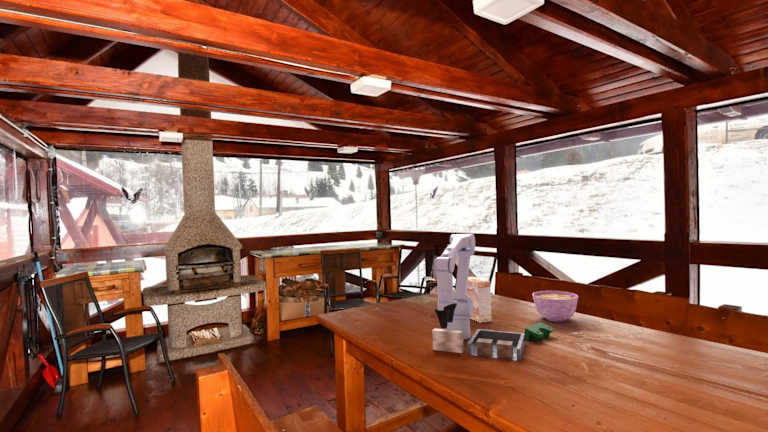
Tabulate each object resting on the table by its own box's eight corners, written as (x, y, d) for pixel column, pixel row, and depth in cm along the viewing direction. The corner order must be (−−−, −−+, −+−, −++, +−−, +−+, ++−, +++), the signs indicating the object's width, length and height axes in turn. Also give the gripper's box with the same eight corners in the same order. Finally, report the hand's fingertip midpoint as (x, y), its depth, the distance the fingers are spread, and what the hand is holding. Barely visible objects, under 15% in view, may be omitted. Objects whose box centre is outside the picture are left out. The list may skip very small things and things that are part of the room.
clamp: (537, 355, 146) (536, 337, 142) (523, 347, 150) (522, 330, 146) (554, 337, 151) (554, 320, 147) (541, 330, 156) (540, 313, 152)
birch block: (433, 351, 141) (432, 330, 141) (435, 349, 143) (434, 328, 143) (461, 354, 136) (461, 333, 136) (463, 352, 139) (462, 331, 139)
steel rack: (467, 357, 135) (467, 343, 135) (478, 341, 151) (477, 329, 151) (520, 363, 127) (520, 349, 127) (525, 346, 143) (524, 333, 143)
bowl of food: (523, 317, 182) (522, 293, 182) (553, 311, 190) (552, 289, 190) (558, 328, 163) (557, 301, 163) (589, 320, 172) (588, 295, 172)
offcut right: (497, 356, 132) (496, 343, 132) (498, 352, 135) (498, 340, 135) (511, 358, 130) (511, 345, 130) (513, 354, 133) (512, 341, 133)
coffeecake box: (463, 315, 190) (461, 277, 190) (475, 314, 192) (473, 276, 192) (479, 323, 175) (477, 281, 175) (492, 321, 178) (490, 280, 178)
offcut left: (477, 354, 135) (476, 341, 135) (479, 350, 138) (478, 338, 138) (491, 355, 133) (490, 343, 133) (493, 351, 136) (492, 339, 136)
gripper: (450, 293, 132) (452, 331, 132) (460, 285, 145) (462, 320, 145) (431, 292, 135) (432, 329, 135) (442, 284, 148) (444, 319, 148)
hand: (446, 325), depth 140 cm, fingers open, 7 cm apart
